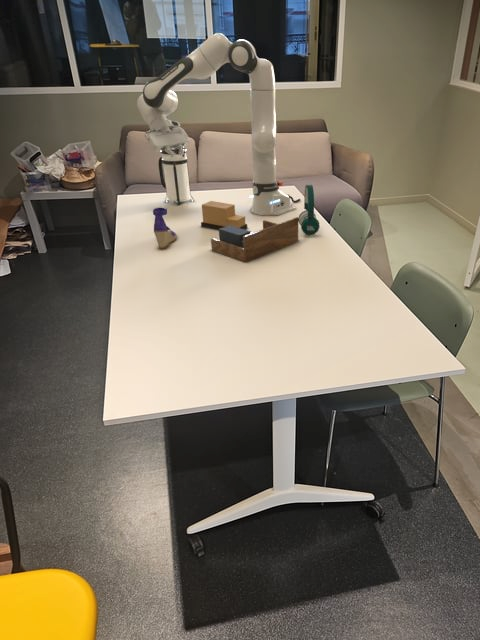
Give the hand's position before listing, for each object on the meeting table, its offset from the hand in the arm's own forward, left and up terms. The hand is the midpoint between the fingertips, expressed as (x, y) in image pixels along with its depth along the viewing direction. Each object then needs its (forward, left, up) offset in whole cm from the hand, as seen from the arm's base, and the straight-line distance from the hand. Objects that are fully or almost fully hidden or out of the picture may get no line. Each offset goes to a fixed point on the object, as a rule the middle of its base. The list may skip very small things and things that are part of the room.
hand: (178, 155), depth 229 cm
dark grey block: (+6, +55, -27) cm, 62 cm away
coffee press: (-10, -26, -28) cm, 39 cm away
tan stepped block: (-5, +27, -27) cm, 39 cm away
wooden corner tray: (-2, +55, -27) cm, 62 cm away
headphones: (-31, +56, -28) cm, 69 cm away
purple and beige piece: (+25, +26, -28) cm, 46 cm away
